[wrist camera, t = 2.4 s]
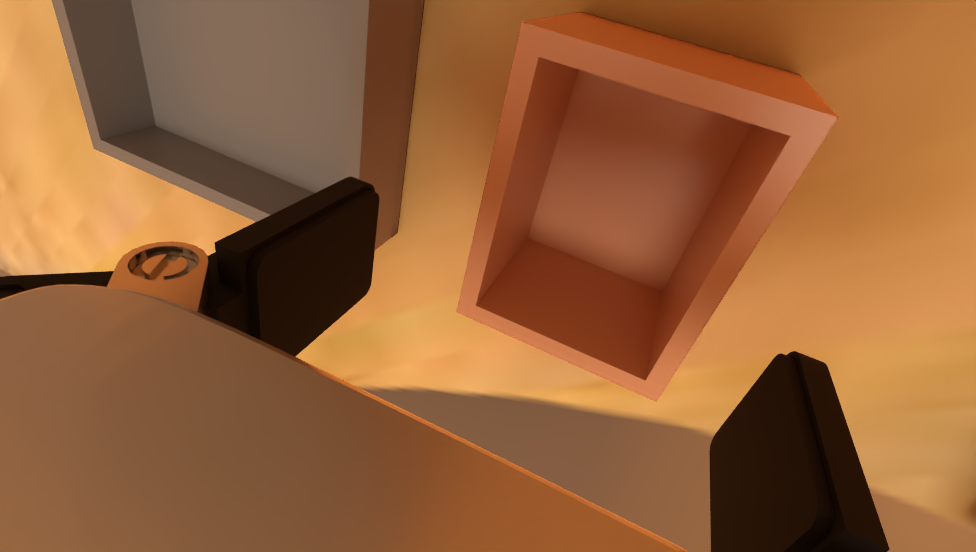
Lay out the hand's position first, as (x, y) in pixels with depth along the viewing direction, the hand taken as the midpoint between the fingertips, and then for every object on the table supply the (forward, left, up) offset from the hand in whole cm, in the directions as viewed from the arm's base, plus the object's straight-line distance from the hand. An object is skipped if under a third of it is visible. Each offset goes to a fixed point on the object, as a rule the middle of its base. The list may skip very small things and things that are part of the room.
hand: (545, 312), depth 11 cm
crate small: (-1, 0, -9) cm, 9 cm away
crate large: (-1, -17, -9) cm, 19 cm away
